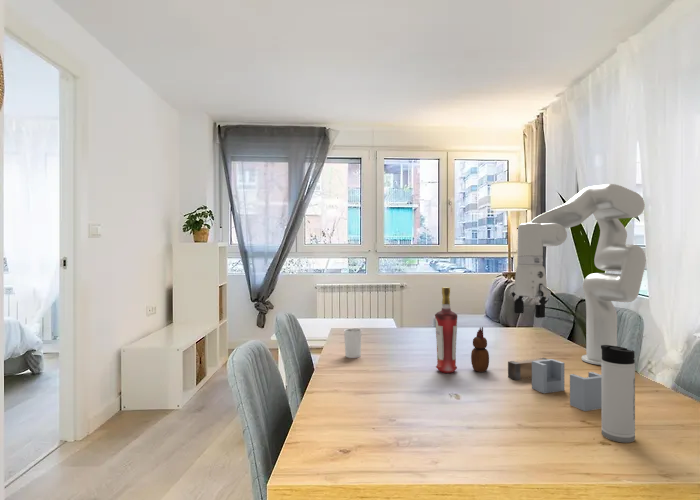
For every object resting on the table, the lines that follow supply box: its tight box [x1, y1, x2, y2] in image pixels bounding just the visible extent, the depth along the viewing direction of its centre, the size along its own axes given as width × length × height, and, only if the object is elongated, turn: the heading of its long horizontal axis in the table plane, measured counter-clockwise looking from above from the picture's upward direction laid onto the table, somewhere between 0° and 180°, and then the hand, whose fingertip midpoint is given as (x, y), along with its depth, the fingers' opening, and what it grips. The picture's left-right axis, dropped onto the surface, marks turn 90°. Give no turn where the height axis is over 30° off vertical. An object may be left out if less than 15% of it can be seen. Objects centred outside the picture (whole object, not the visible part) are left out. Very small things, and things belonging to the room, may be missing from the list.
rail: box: [507, 357, 548, 381], centre depth 142 cm, size 3×14×5 cm, turn 108°
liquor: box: [434, 286, 458, 374], centre depth 148 cm, size 7×7×28 cm
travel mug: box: [600, 345, 636, 444], centre depth 97 cm, size 6×7×20 cm
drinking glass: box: [343, 327, 362, 359], centre depth 170 cm, size 7×7×10 cm
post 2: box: [569, 371, 602, 412], centre depth 115 cm, size 7×5×8 cm, turn 108°
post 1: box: [531, 358, 566, 394], centre depth 129 cm, size 7×5×8 cm, turn 108°
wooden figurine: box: [470, 326, 490, 373], centre depth 149 cm, size 7×6×15 cm
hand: (529, 315), depth 142 cm, fingers open, 9 cm apart
